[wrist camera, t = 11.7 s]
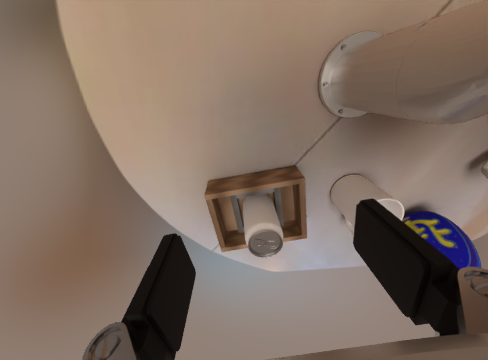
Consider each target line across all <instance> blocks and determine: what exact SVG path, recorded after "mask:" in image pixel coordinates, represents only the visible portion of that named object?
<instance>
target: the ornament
mask: <svg viewBox="0 0 488 360" xmlns="http://www.w3.org/2000/svg"><path fill="white" fill-rule="evenodd" d="M402 222H404V223H405V224H406V225H407V226H409V227H410V228H411V229H412V230H414V231H415V232H416V233H417V234H419V235H420V236H421V237H422V238H424V239H425V240H426V241H427V242H429V243H430V244H431V245H432V246H434V247H435V248H436V249H437V250H438V251H440V252H441V253H442V254H443V255H445V256H446V257H447V258H448V259H450V260H451V261H452V262H453V263H455V264H454V265H456V266H457V267H458V268H459V269H461V268H465V267H478V268H481V262H480V259H479V256H478V253H477V250H476V248H475V246H474V245H473V243H472V242H471V240H470V239H469V237H468V236H467V235H466V234H465V233H464V232H463V231H462V230H461V229H460V228H459V227H458V226H457V225H456V224H454V223H453V222H452V221H450V220H449V219H447V218H445V217H443V216H441V215H439V214H437V213H434V212H429V211H417V212H412V213H409V214H407V215H405V216H404V217H403V219H402Z"/></svg>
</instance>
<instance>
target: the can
mask: <svg viewBox="0 0 488 360" xmlns="http://www.w3.org/2000/svg"><path fill="white" fill-rule="evenodd" d="M243 218H244V232H245V241H246V244H247V245H248V248H249V250H250V252H251V253H252V254H254V255H255V256H258V257H270V256H273V255H275V254H277V253H278V252H279V251H280V250H281V248H282V246H283V232H282V229H281V225H280V222H279V219H278V216H277V213H276V210H275V207H274V204H273V201H272V199H271V197H270V196H269V195H267V194H260V195H254V196H248V197H246V198H245V199H244V202H243Z"/></svg>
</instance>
